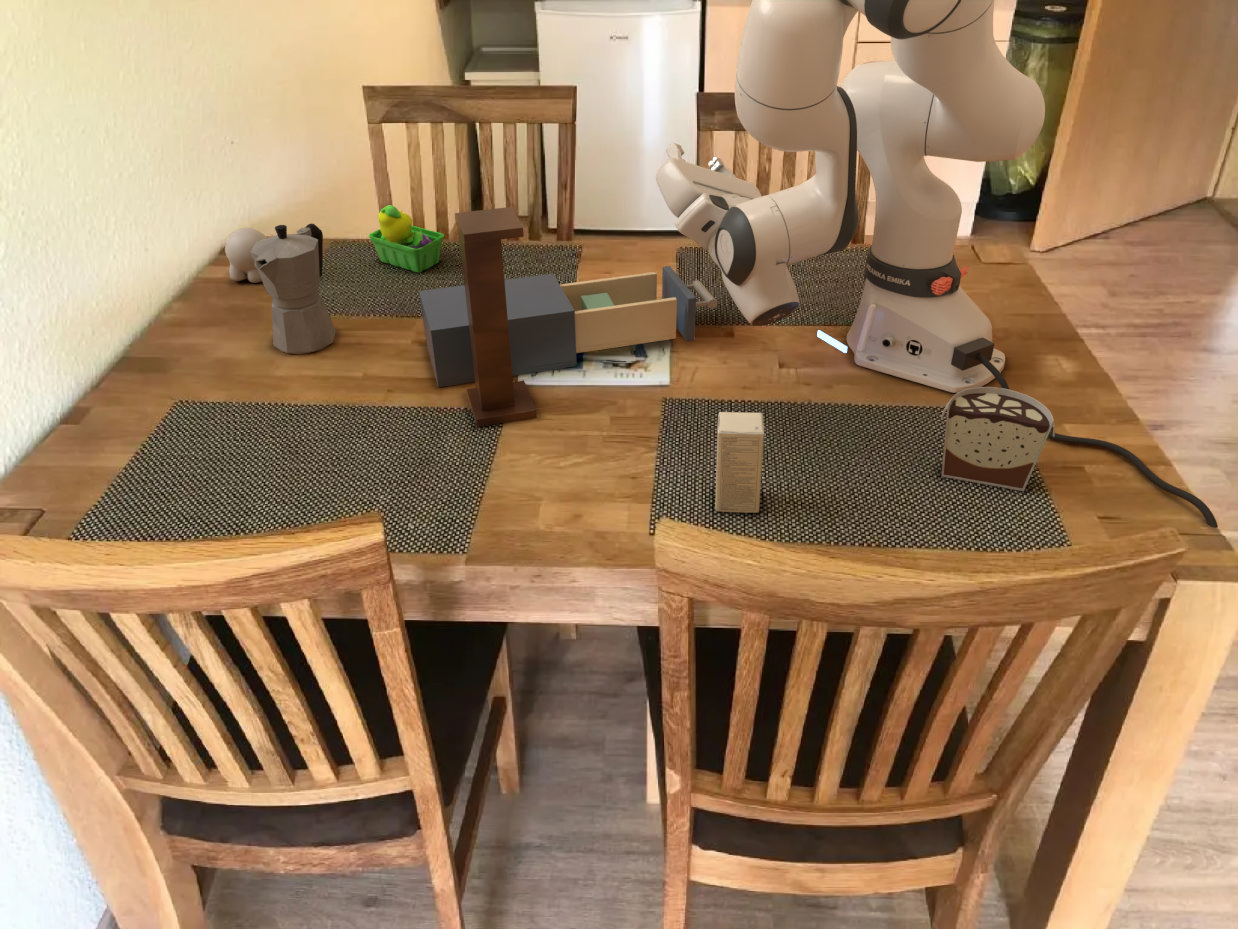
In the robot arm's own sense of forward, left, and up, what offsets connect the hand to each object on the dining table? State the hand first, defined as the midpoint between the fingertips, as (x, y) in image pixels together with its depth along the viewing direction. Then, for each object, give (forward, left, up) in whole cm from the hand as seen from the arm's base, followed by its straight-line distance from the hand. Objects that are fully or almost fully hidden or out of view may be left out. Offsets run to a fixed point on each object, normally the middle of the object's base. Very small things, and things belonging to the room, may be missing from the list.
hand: (693, 153), depth 145 cm
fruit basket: (+43, +25, -23) cm, 55 cm away
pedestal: (-5, +42, -23) cm, 49 cm away
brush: (-3, +17, -21) cm, 27 cm away
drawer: (-4, +16, -22) cm, 27 cm away
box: (-41, +37, -23) cm, 60 cm away
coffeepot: (+31, +51, -23) cm, 64 cm away
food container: (-58, +11, -23) cm, 63 cm away
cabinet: (+6, +34, -23) cm, 42 cm away
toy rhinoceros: (+55, +45, -23) cm, 75 cm away
